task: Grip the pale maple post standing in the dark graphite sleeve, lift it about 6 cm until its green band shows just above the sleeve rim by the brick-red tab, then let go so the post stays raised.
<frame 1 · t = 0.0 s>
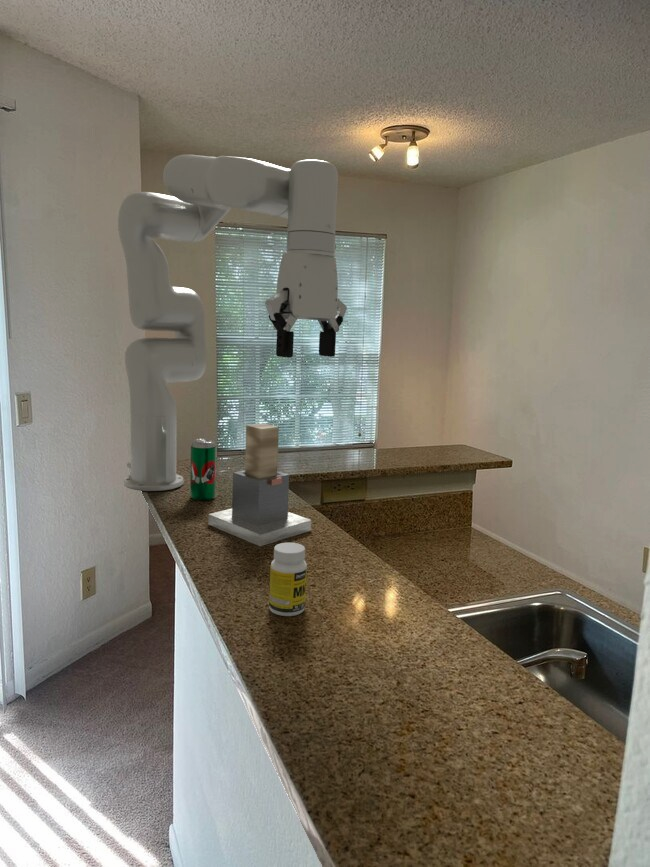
hand: (306, 356, 101), 31 cm above the worktop, tool pointing down, fingers open, 9 cm apart
supplement bottle: (287, 610, 81), on the worktop
stand base: (259, 527, 112), on the worktop
soda can: (202, 499, 128), on the worktop
column: (261, 470, 110), point 11 cm above the worktop, slide at 0.0 cm
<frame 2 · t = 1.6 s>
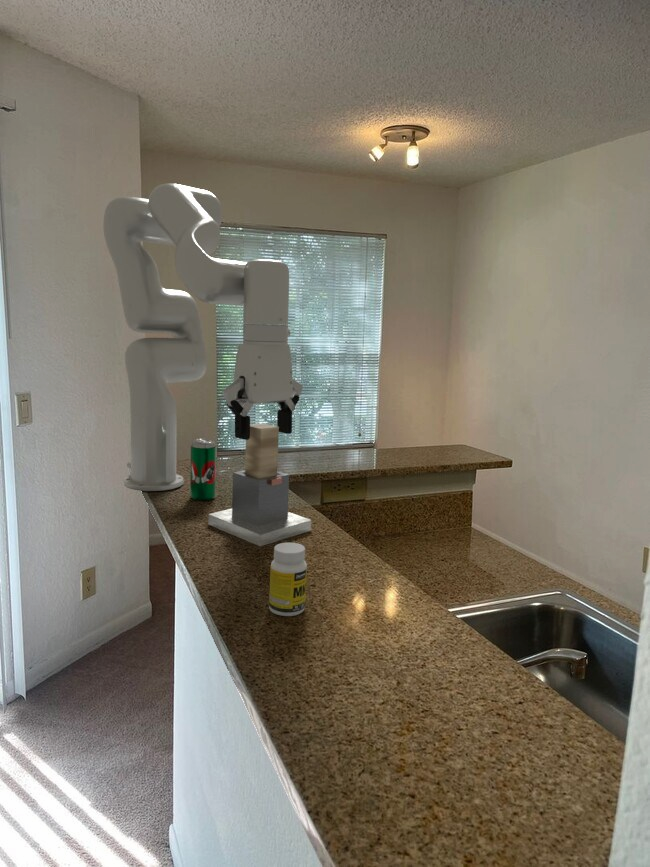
hand: (264, 435, 108), 17 cm above the worktop, tool pointing down, fingers open, 9 cm apart
nothing on the worktop moved.
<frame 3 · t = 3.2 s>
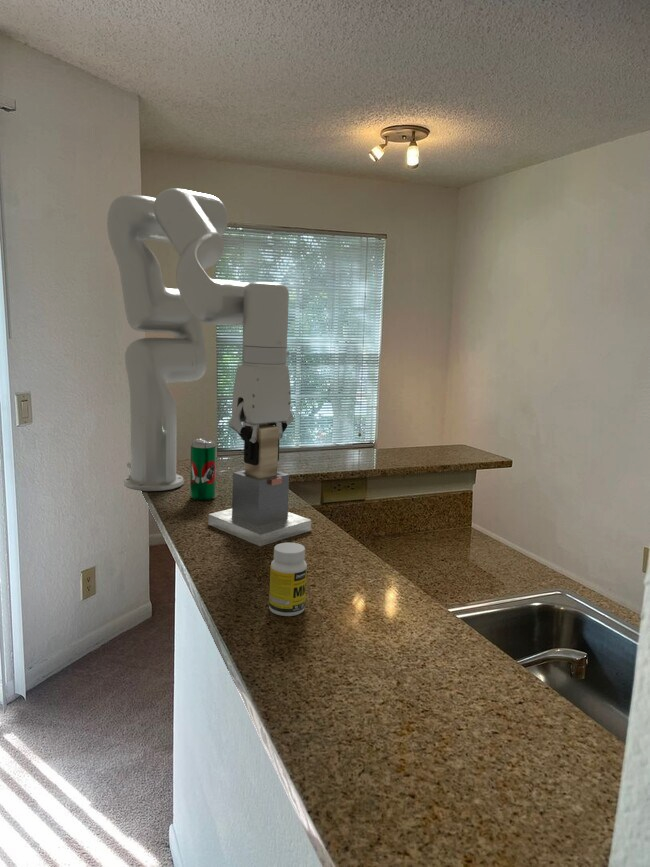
hand: (261, 460, 109), 12 cm above the worktop, tool pointing down, fingers closed on column, 4 cm apart
column: (261, 470, 110), point 10 cm above the worktop, slide at 0.0 cm, touching gripper
everything else where it was.
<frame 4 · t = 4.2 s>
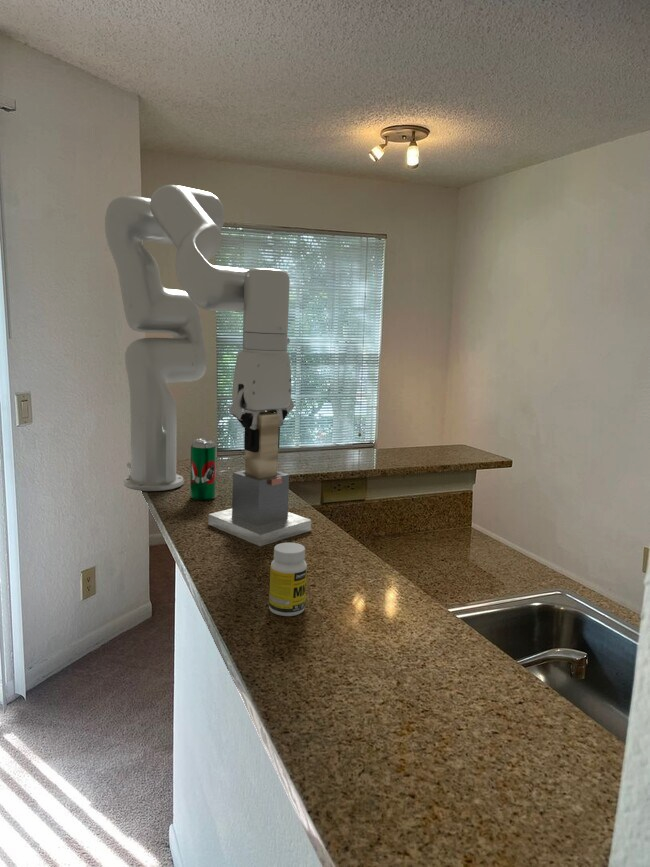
hand: (261, 448, 109), 15 cm above the worktop, tool pointing down, fingers closed on column, 4 cm apart
column: (261, 458, 109), point 13 cm above the worktop, slide at 2.2 cm, touching gripper
everything else where it was.
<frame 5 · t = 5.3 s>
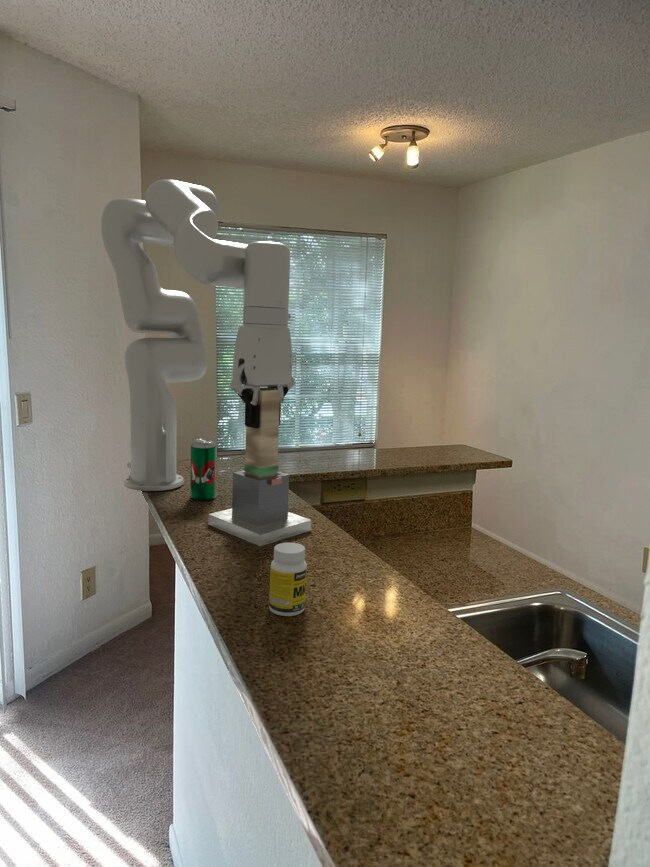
hand: (262, 424, 108), 19 cm above the worktop, tool pointing down, fingers closed on column, 4 cm apart
column: (262, 434, 109), point 17 cm above the worktop, slide at 6.4 cm, touching gripper
everything else where it was.
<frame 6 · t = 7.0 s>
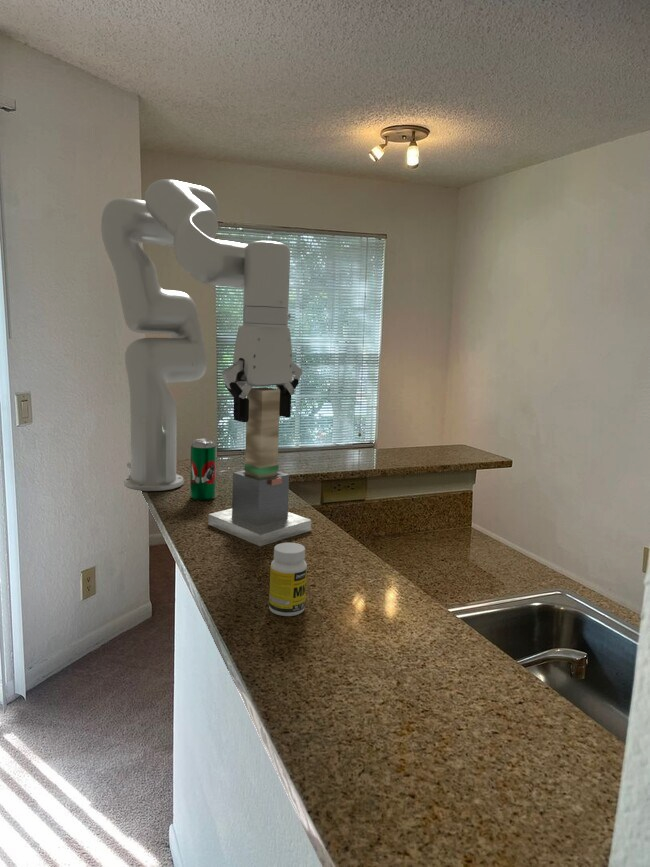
hand: (262, 418, 108), 20 cm above the worktop, tool pointing down, fingers open, 9 cm apart
column: (262, 434, 109), point 17 cm above the worktop, slide at 6.5 cm
everything else where it was.
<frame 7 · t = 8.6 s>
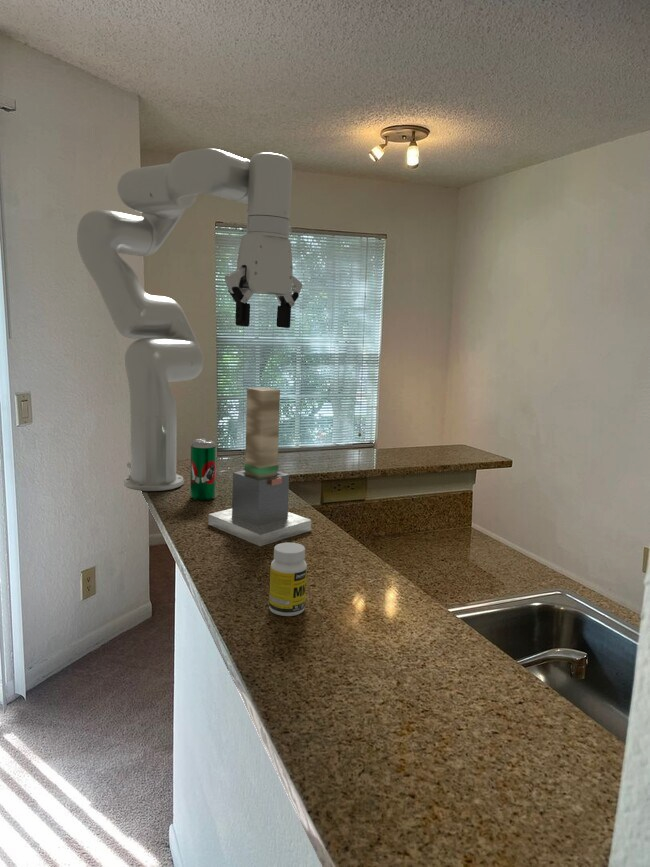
hand: (263, 326, 114), 35 cm above the worktop, tool pointing down, fingers open, 9 cm apart
nothing on the worktop moved.
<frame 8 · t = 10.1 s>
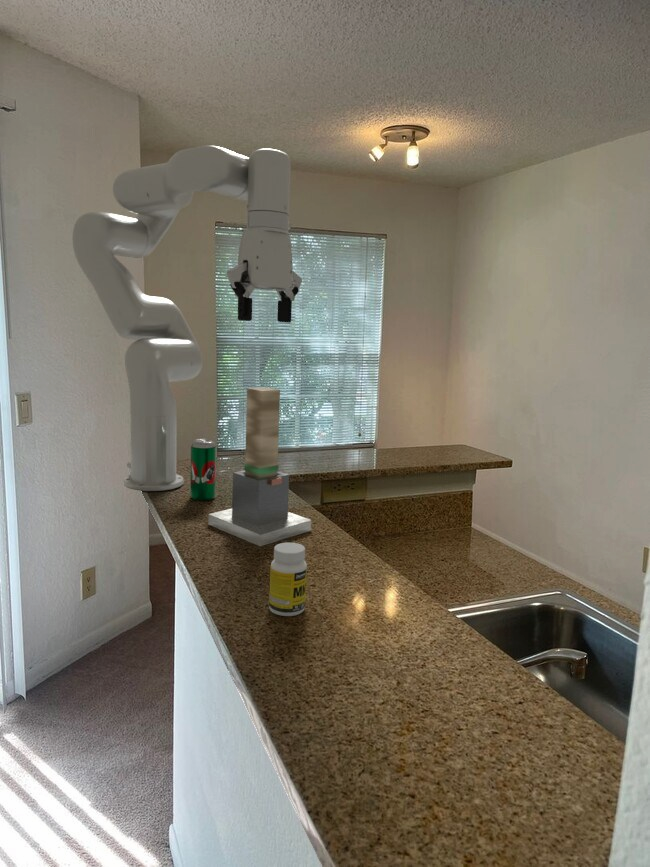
hand: (265, 321, 115), 36 cm above the worktop, tool pointing down, fingers open, 9 cm apart
nothing on the worktop moved.
at the end: column slide at 6.5 cm; the gripper is holding nothing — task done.
